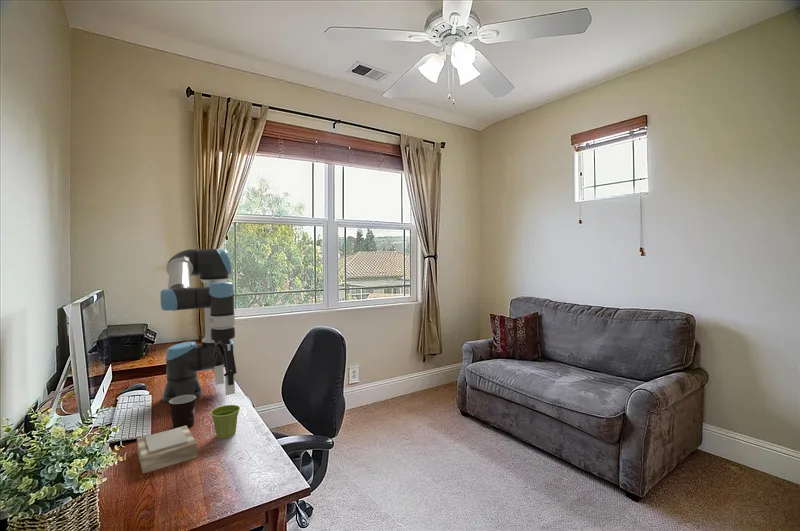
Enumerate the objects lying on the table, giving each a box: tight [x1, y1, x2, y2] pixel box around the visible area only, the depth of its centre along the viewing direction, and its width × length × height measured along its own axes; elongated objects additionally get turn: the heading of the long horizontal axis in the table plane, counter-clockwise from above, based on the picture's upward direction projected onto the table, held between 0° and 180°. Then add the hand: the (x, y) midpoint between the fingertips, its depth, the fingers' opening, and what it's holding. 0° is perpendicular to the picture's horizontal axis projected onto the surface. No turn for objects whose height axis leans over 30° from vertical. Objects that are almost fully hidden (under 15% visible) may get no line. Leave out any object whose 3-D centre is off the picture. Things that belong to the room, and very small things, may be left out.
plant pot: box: [209, 404, 241, 439], centre depth 134 cm, size 9×9×9 cm
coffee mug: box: [168, 395, 197, 429], centre depth 143 cm, size 12×9×10 cm
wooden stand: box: [136, 425, 198, 474], centre depth 121 cm, size 16×14×5 cm
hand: (224, 388), depth 134 cm, fingers open, 13 cm apart
